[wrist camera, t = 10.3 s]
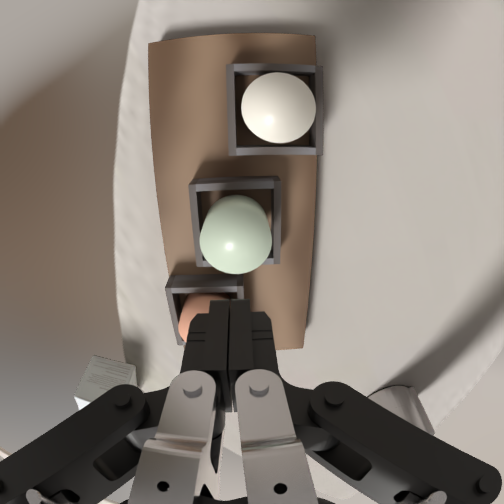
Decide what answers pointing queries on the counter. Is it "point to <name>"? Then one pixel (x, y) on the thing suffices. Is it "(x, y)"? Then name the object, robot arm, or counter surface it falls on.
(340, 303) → the counter surface
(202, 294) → the terracotta button
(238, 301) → the robot arm
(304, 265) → the button panel
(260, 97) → the cream button
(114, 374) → the product box
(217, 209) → the sage button
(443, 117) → the counter surface
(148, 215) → the counter surface
